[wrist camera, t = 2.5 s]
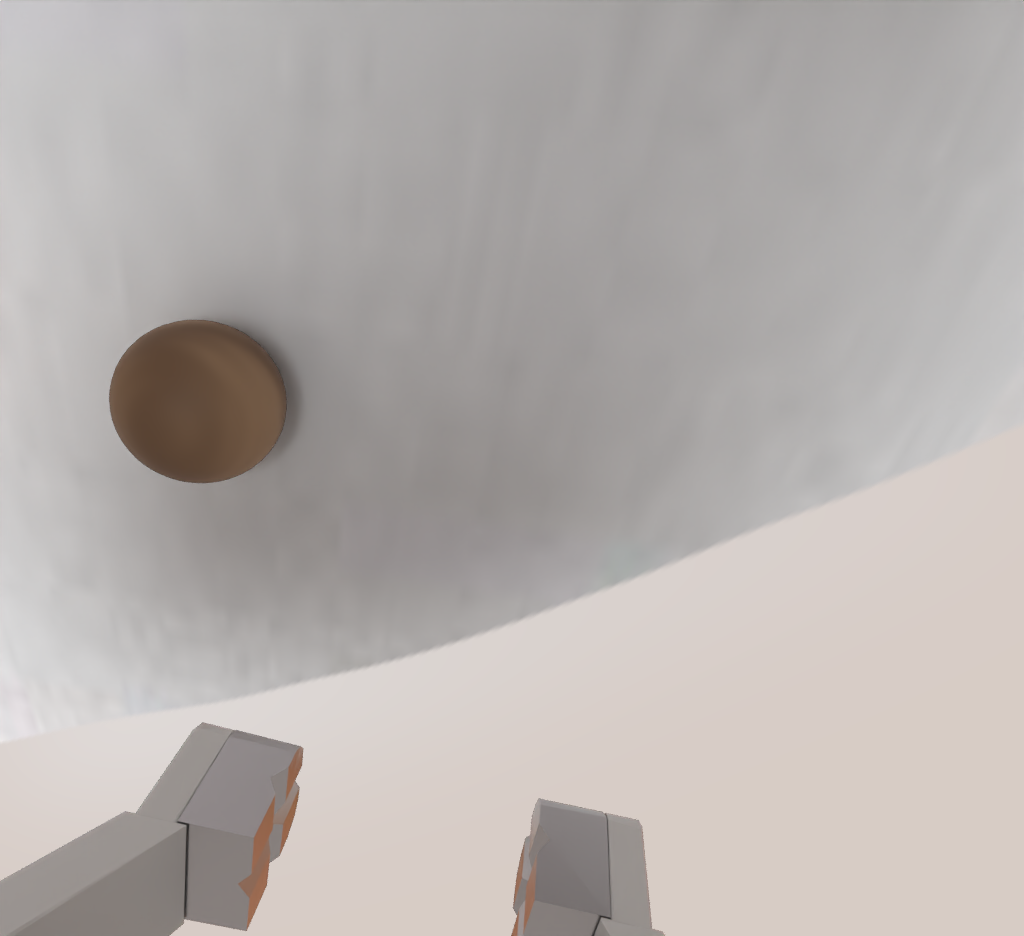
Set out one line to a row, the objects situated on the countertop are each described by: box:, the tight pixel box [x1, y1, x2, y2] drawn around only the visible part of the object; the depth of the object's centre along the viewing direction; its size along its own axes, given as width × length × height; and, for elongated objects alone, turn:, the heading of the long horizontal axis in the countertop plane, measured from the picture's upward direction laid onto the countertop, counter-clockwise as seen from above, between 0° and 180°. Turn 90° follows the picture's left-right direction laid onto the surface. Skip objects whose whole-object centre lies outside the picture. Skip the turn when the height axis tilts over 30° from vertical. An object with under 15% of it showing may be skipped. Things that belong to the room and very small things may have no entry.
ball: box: [109, 320, 287, 483], centre depth 22 cm, size 5×5×5 cm
